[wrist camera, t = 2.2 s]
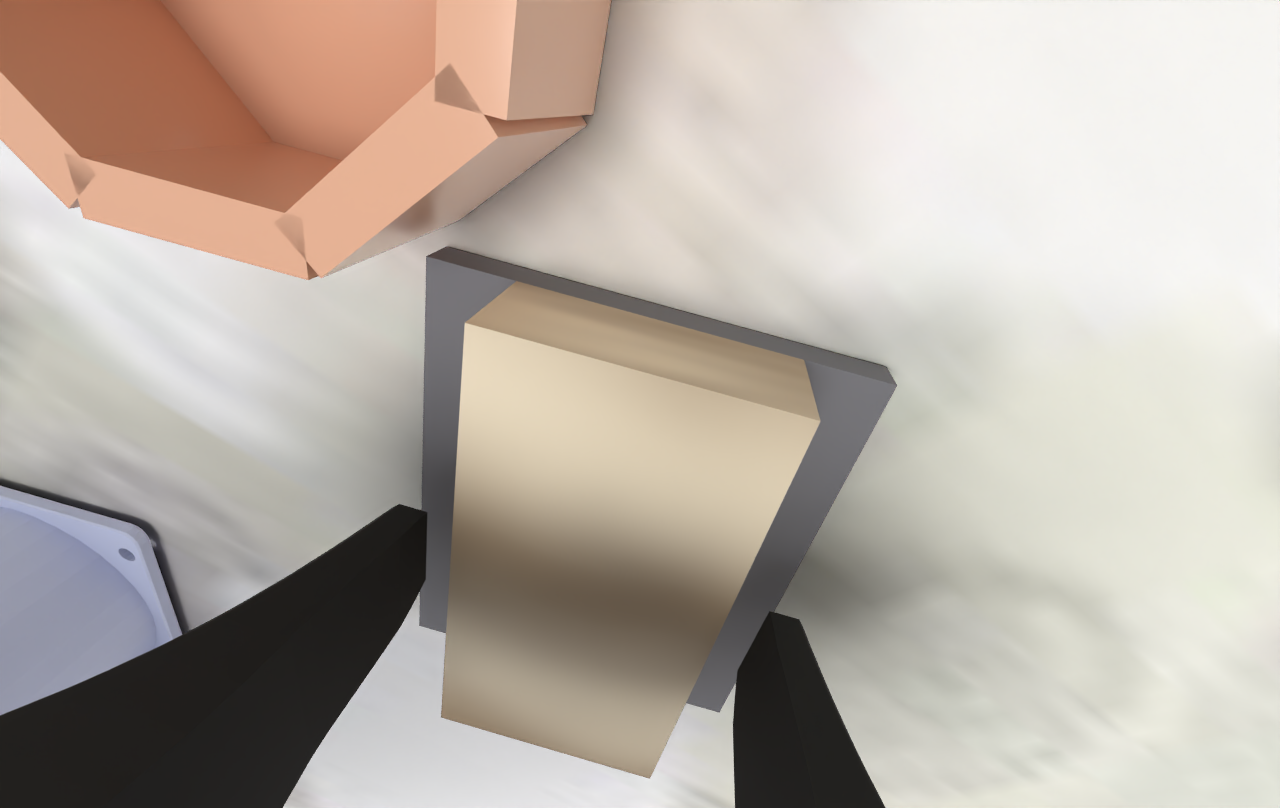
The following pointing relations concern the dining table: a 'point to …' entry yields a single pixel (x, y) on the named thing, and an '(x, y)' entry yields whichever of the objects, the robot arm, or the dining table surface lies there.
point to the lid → (605, 516)
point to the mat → (838, 382)
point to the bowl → (292, 114)
